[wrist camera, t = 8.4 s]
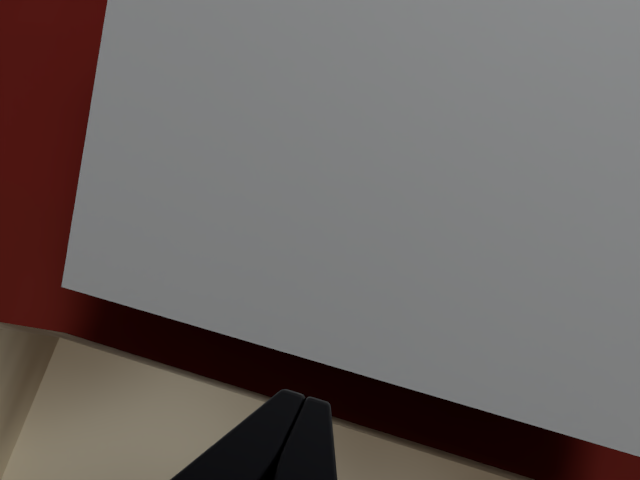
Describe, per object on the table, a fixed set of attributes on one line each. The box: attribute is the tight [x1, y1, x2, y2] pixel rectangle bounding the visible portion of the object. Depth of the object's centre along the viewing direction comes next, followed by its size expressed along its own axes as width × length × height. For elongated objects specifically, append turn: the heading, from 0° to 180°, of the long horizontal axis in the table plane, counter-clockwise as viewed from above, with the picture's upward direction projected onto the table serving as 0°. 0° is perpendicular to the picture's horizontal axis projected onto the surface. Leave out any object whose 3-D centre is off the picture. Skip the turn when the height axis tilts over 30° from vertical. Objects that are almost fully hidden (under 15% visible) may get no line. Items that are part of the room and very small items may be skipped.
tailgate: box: [62, 0, 640, 457], centre depth 12 cm, size 2×15×13 cm
